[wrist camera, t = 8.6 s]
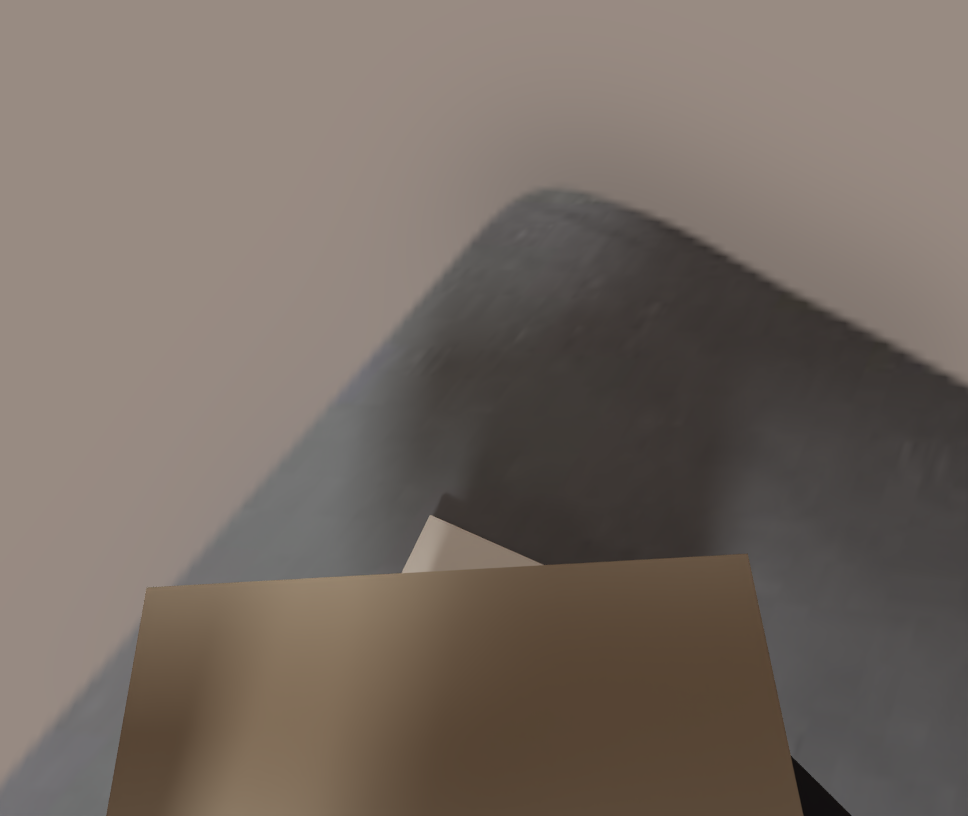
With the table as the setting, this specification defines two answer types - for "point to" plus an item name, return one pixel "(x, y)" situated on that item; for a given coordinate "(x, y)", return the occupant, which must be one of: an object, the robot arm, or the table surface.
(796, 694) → the table surface
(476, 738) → the brass block
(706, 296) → the table surface
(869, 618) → the table surface
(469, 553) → the cream tile
